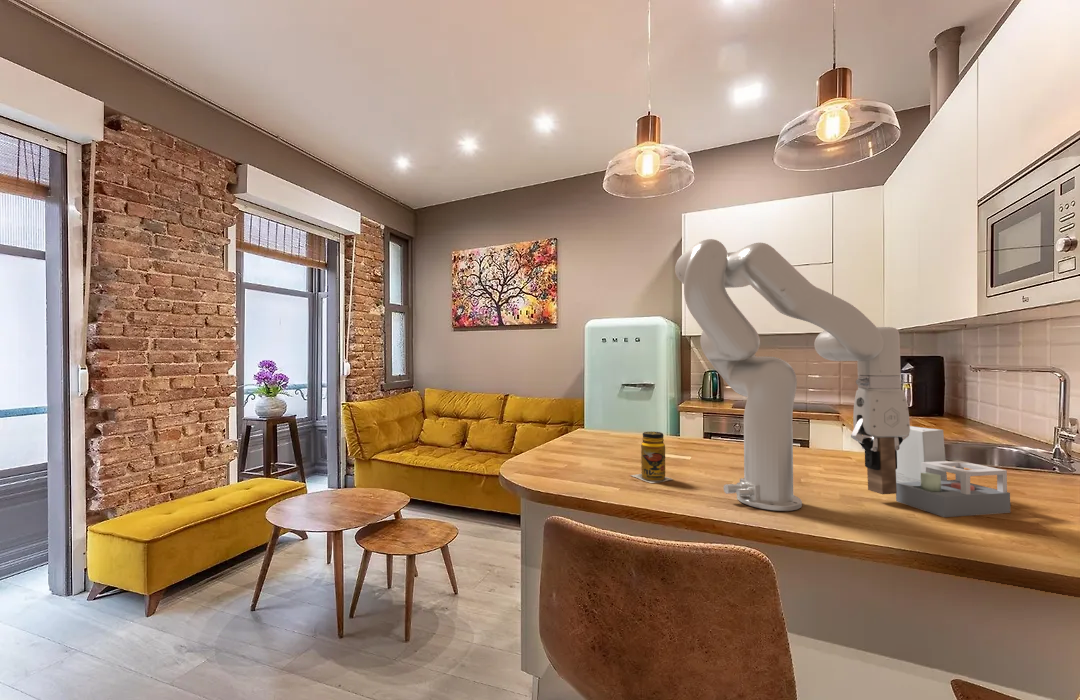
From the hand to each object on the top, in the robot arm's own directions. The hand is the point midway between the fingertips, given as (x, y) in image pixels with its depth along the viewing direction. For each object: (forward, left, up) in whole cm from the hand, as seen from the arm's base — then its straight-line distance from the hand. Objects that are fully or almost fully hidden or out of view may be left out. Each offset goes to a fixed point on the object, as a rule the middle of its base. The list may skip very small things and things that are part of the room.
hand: (880, 467), depth 98 cm
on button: (+7, -5, -4) cm, 9 cm away
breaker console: (+12, -5, -8) cm, 15 cm away
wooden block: (0, 0, -5) cm, 5 cm away
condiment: (-41, +27, -8) cm, 50 cm away
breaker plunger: (+15, -5, -6) cm, 17 cm away
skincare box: (+17, +6, -8) cm, 19 cm away
